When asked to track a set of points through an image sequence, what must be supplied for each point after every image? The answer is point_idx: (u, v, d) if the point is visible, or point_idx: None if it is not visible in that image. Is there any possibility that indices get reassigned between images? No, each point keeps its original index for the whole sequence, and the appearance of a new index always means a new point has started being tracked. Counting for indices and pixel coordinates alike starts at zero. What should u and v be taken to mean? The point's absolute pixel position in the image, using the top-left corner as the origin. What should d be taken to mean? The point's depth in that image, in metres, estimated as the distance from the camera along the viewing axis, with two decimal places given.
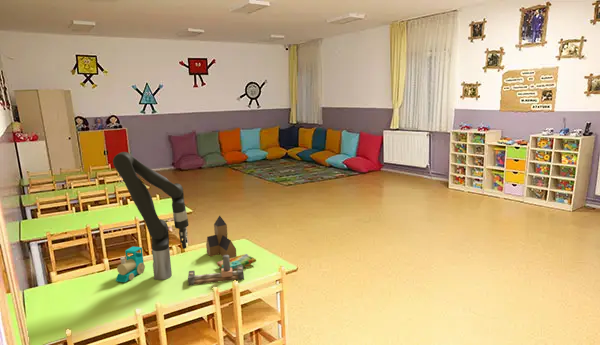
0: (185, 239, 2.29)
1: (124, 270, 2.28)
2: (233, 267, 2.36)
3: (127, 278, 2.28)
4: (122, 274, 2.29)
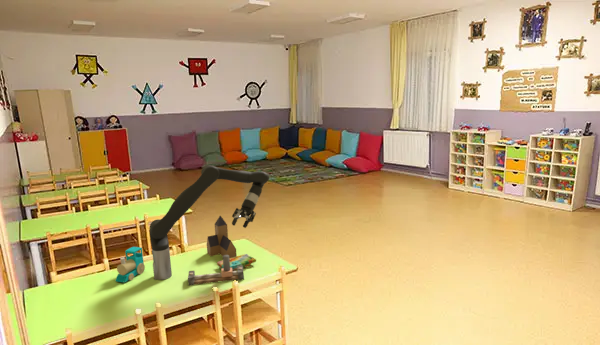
0: None
1: (124, 270, 2.27)
2: (233, 267, 2.36)
3: (127, 278, 2.28)
4: (122, 274, 2.28)
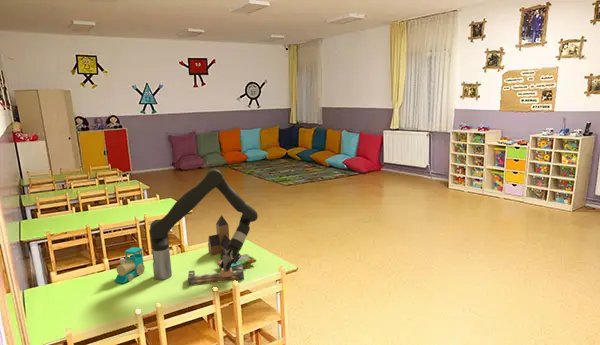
0: None
1: (123, 271, 2.27)
2: (233, 267, 2.36)
3: (126, 279, 2.27)
4: (121, 275, 2.28)
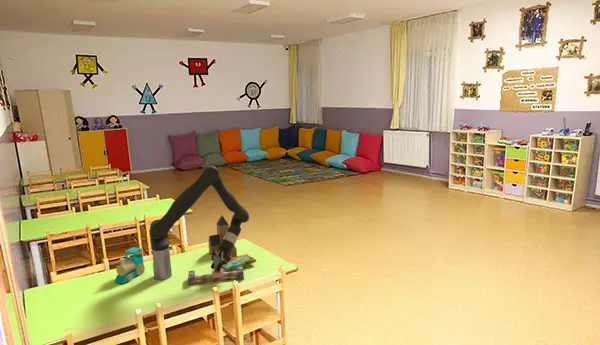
0: None
1: (123, 271, 2.26)
2: (233, 267, 2.36)
3: (126, 279, 2.27)
4: (121, 275, 2.27)
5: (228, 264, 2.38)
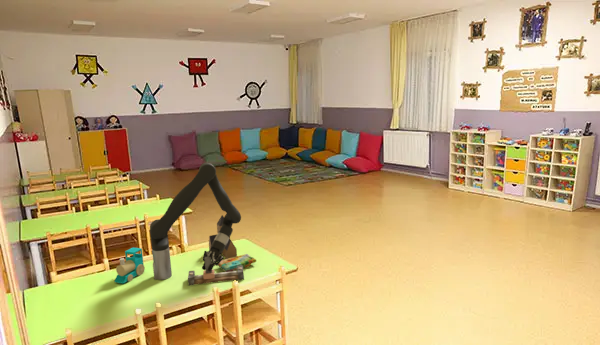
0: None
1: (123, 271, 2.26)
2: (233, 267, 2.36)
3: (126, 279, 2.27)
4: (121, 275, 2.27)
5: (228, 264, 2.38)
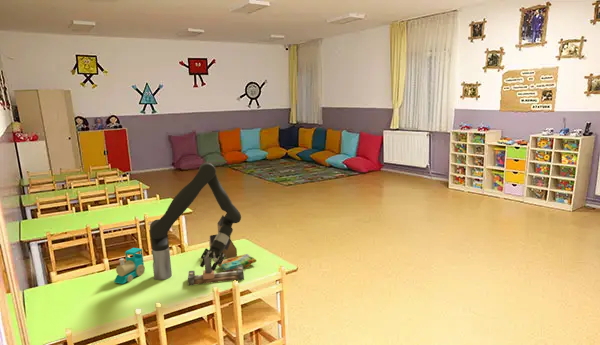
0: None
1: (122, 271, 2.26)
2: (233, 267, 2.36)
3: (125, 280, 2.26)
4: (121, 275, 2.27)
5: (228, 264, 2.39)
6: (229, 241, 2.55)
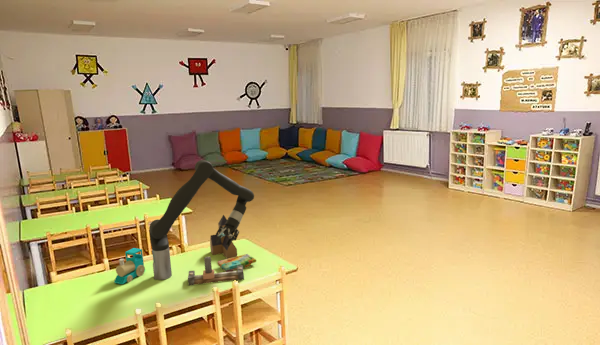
0: None
1: (122, 272, 2.25)
2: (233, 267, 2.37)
3: (125, 280, 2.26)
4: (120, 276, 2.27)
5: (228, 264, 2.39)
6: None
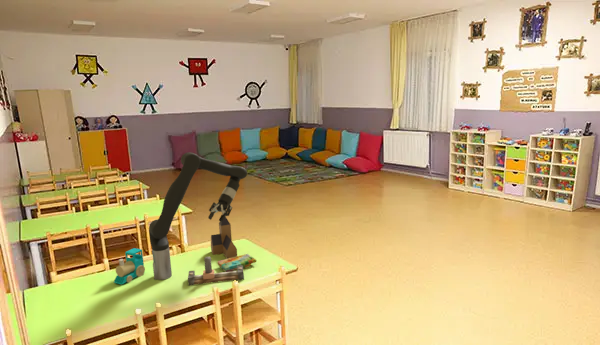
0: None
1: (122, 272, 2.25)
2: (232, 267, 2.37)
3: (124, 280, 2.26)
4: (120, 276, 2.26)
5: (228, 264, 2.39)
6: (229, 241, 2.55)
